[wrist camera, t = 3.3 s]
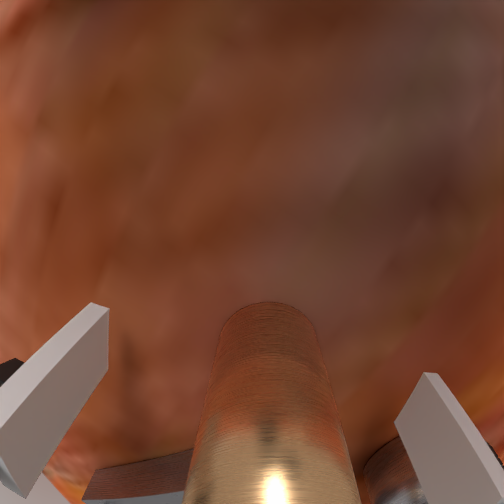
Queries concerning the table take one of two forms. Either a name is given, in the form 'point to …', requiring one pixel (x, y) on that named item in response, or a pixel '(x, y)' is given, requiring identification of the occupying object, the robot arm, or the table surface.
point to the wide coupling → (392, 477)
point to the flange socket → (141, 482)
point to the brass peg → (270, 418)
